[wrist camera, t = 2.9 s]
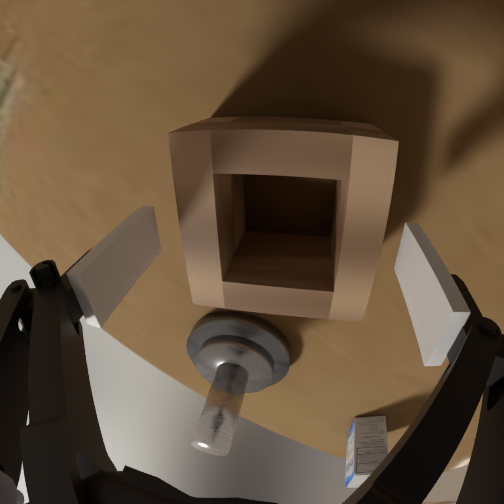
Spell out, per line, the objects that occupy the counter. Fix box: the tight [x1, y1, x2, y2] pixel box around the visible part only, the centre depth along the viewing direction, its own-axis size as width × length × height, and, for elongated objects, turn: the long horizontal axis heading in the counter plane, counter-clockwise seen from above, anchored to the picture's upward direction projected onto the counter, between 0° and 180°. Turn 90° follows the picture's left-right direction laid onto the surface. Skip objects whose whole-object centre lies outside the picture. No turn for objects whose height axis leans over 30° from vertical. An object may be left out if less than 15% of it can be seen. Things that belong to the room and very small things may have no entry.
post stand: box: [187, 312, 291, 456], centre depth 23 cm, size 10×10×11 cm
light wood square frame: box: [169, 116, 399, 321], centre depth 16 cm, size 10×10×6 cm
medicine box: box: [345, 416, 388, 487], centre depth 30 cm, size 8×4×9 cm, turn 8°
